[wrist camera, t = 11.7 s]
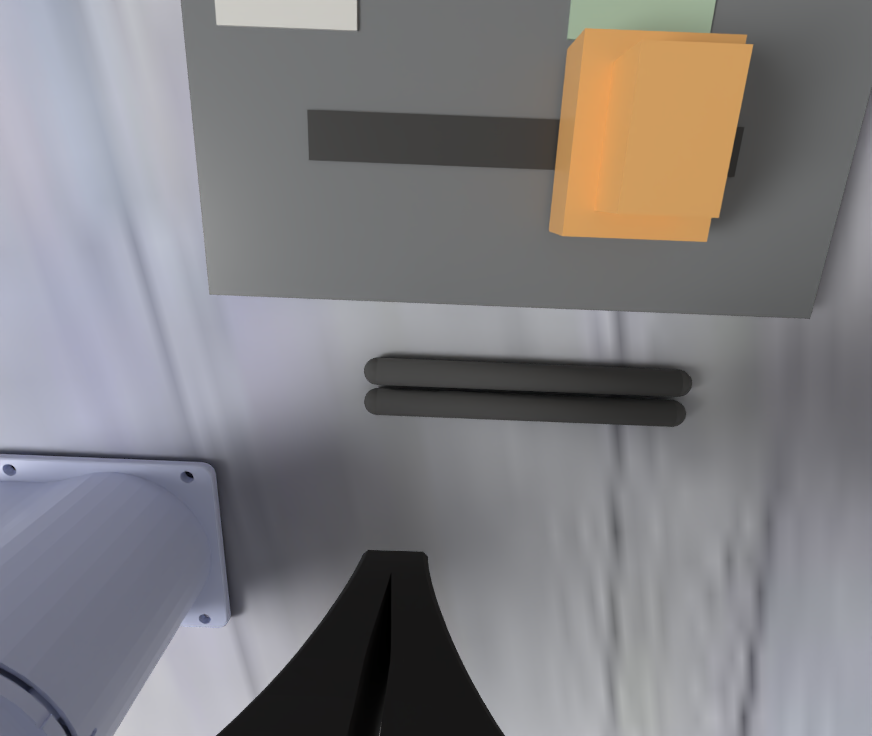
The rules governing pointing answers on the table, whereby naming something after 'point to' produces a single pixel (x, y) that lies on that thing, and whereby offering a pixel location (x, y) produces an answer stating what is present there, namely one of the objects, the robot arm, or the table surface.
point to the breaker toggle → (646, 133)
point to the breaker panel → (500, 153)
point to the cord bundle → (526, 380)
